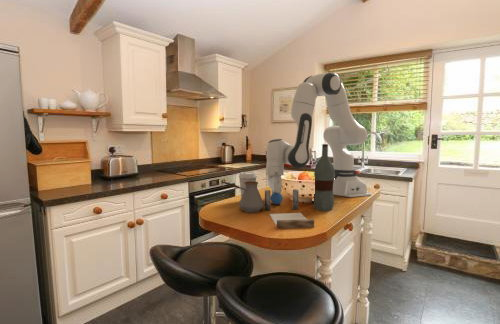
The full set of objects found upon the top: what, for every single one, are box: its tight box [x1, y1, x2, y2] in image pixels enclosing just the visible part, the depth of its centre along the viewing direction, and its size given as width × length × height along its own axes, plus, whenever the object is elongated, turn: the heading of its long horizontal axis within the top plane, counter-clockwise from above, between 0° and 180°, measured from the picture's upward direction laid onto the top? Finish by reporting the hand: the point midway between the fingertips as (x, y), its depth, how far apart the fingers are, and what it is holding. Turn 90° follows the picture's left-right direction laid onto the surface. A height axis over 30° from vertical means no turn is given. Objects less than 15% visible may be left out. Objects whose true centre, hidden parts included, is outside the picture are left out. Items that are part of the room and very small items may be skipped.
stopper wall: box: [276, 218, 315, 230], centre depth 107 cm, size 14×2×2 cm, turn 96°
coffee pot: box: [221, 181, 265, 213], centre depth 126 cm, size 21×12×15 cm, turn 131°
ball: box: [270, 193, 284, 205], centre depth 140 cm, size 6×6×6 cm
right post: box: [292, 188, 299, 211], centre depth 131 cm, size 3×3×9 cm
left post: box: [264, 189, 272, 212], centre depth 130 cm, size 3×3×9 cm
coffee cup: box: [238, 171, 258, 198], centre depth 144 cm, size 10×10×15 cm
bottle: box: [313, 143, 335, 212], centre depth 131 cm, size 9×9×30 cm
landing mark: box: [269, 212, 307, 226], centre depth 117 cm, size 14×14×1 cm
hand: (274, 198), depth 144 cm, fingers closed
